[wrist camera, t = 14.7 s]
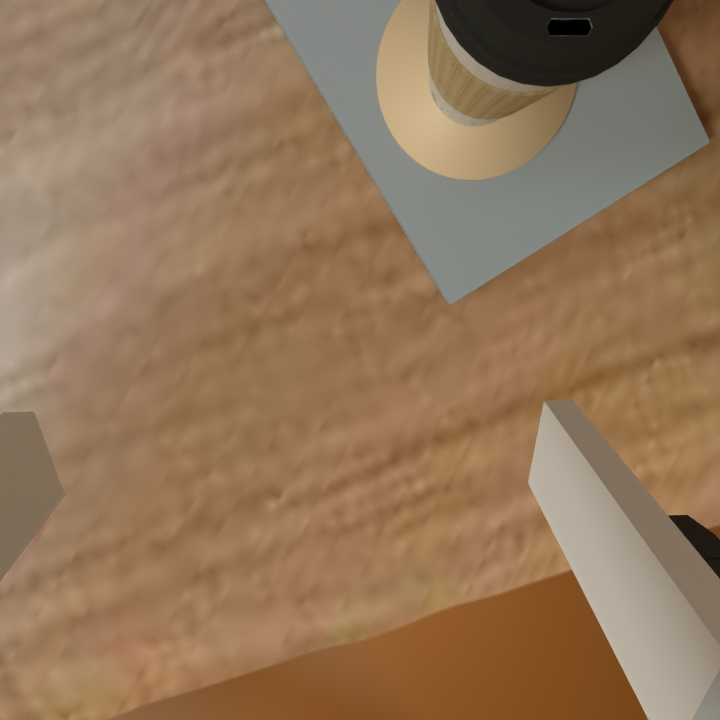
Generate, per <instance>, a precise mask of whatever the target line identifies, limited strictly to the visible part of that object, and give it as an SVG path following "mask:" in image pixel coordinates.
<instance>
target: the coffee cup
mask: <svg viewBox="0 0 720 720" xmlns="http://www.w3.org/2000/svg"><path fill="white" fill-rule="evenodd" d="M672 2H673V0H430V8H429V30H428V65H429V86H430V91H431V95H432V97H433V99H434V102H435V104H436V105H437V107H438V108H439V109H440V111H441V112H442V113H443V114H444V115H445V116H446V117H447V118H449V119H450V120H452V121H454V122H455V123H458V124H461V125H463V126H470V127H478V126H485V125H488V124H491V123H493V122H495V121H497V120H499V119H500V118H503V117H506V116H509V115H512V114H514V113H516V112H518V111H519V110H521V109H523V108H525V107H527V106H529V105H530V104H532V103H534V102H536V101H538V100H540V99H542V98H543V97H545V96H547V95H549V94H551V93H553V92H555V91H556V90H558V89H560V88H562V87H564V86H566V85H570V84H573V83H577V82H580V81H583V80H586V79H589V78H593V77H595V76H597V75H599V74H601V73H602V72H604V71H606V70H608V69H610V68H612V67H613V66H615V65H617V64H618V63H620V62H621V61H622V60H623V59H624V58H626V57H627V56H628V55H629V54H631V53H632V52H633V51H634V50H635V49H637V48H638V47H639V46H640V45H641V43H642V42H643V41H644V40H645V39H646V38H647V36H648V35H649V34H650V33H651V32H652V31H653V29H654V28H655V27H656V26H657V25H658V23H659V22H660V21H661V19H662V18H663V17H664V15H665V13H666V12H667V10H668V8H669V7H670V5H671V3H672Z"/></svg>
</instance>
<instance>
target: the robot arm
mask: <svg viewBox="0 0 720 720" xmlns="http://www.w3.org/2000/svg"><path fill="white" fill-rule="evenodd" d="M528 484H529V486H530V488H531V490H532V492H533V494H534V496H535V498H536V500H537V502H538V504H539V506H540V508H541V510H542V511H543V513H544V515H545V517H546V519H547V521H548V523H549V525H550V527H551V529H552V531H553V533H554V535H555V537H556V539H557V541H558V543H559V545H560V547H561V549H562V551H563V553H564V555H565V557H566V559H567V561H568V562H569V564H570V566H571V568H572V570H573V572H574V574H575V576H576V578H577V580H578V582H579V584H580V586H581V588H582V590H583V592H584V594H585V596H586V598H587V600H588V602H589V603H590V605H591V607H592V609H593V611H594V613H595V615H596V617H597V619H598V621H599V623H600V625H601V627H602V629H603V631H604V633H605V635H606V637H607V639H608V641H609V643H610V645H611V647H612V649H613V651H614V653H615V655H616V656H617V659H618V661H619V663H620V665H621V666H622V668H623V670H624V672H625V674H626V676H627V678H628V680H629V682H630V684H631V686H632V688H633V690H634V692H635V694H636V696H637V698H638V700H639V702H640V704H641V706H642V708H643V710H644V712H645V714H646V716H647V717H648V719H649V720H720V540H719V539H718V538H717V536H716V535H715V534H713V533H712V532H711V531H709V530H708V529H706V528H705V527H704V526H702V525H701V524H699V523H698V522H696V521H695V520H694V519H692V518H691V517H689V516H688V515H672V516H668V515H667V514H666V513H665V512H664V510H663V509H662V508H661V507H660V506H659V504H658V503H657V502H656V501H655V499H654V498H653V497H652V496H651V495H650V493H649V492H648V491H647V490H646V489H645V487H644V486H643V485H642V484H641V482H640V481H639V480H638V479H637V478H636V476H635V475H634V474H633V473H632V471H631V470H630V469H629V468H628V467H627V465H626V464H625V463H624V462H623V461H622V459H621V458H620V457H619V456H618V454H617V453H616V452H615V451H614V450H613V448H612V447H611V446H610V445H609V444H608V442H607V441H606V440H605V439H604V437H603V436H602V435H601V434H600V433H599V431H598V430H597V429H596V428H595V427H594V425H593V424H592V423H591V422H590V420H589V419H588V418H587V417H586V416H585V414H584V413H583V412H582V411H581V409H580V408H579V407H578V406H577V405H576V403H575V402H574V401H573V400H569V401H544V404H543V409H542V414H541V419H540V424H539V430H538V435H537V440H536V445H535V450H534V455H533V460H532V465H531V470H530V475H529V481H528ZM64 495H65V494H64V491H63V488H62V486H61V483H60V480H59V478H58V475H57V472H56V470H55V467H54V464H53V462H52V459H51V456H50V453H49V451H48V448H47V445H46V443H45V440H44V437H43V435H42V432H41V429H40V427H39V424H38V421H37V418H36V416H35V413H34V412H4V413H2V414H1V415H0V581H1V579H2V578H3V577H4V575H5V574H6V573H7V571H8V570H9V569H10V567H11V566H12V565H13V563H14V562H15V561H16V559H17V558H18V557H19V555H20V554H21V553H22V551H23V550H24V549H25V547H26V546H27V545H28V543H29V542H30V541H31V539H32V538H33V537H34V535H35V534H36V533H37V531H38V530H39V529H40V527H41V526H42V525H43V523H44V522H45V521H46V519H47V518H48V517H49V515H50V514H51V513H52V511H53V510H54V509H55V507H56V506H57V505H58V503H59V502H60V501H61V499H62V498H63V497H64Z"/></svg>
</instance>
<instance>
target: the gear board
mask: <svg viewBox="0 0 720 720" xmlns="http://www.w3.org/2000/svg"><path fill="white" fill-rule="evenodd" d="M264 1H265V3H266V4H267V6H268V8H269V9H270V11H271V13H272V14H273V16H274V18H275V19H276V21H277V23H278V24H279V26H280V28H281V29H282V31H283V32H284V34H285V36H286V37H287V39H288V41H289V42H290V44H291V46H292V47H293V49H294V51H295V52H296V54H297V56H298V57H299V59H300V61H301V62H302V64H303V66H304V67H305V69H306V70H307V72H308V74H309V75H310V77H311V79H312V80H313V82H314V84H315V85H316V87H317V89H318V90H319V92H320V94H321V95H322V97H323V99H324V100H325V102H326V104H327V105H328V107H329V108H330V110H331V112H332V113H333V115H334V117H335V118H336V120H337V122H338V123H339V125H340V127H341V128H342V130H343V132H344V133H345V135H346V137H347V138H348V140H349V142H350V143H351V145H352V147H353V148H354V150H355V151H356V153H357V155H358V156H359V158H360V160H361V161H362V163H363V165H364V166H365V168H366V170H367V171H368V173H369V175H370V176H371V178H372V180H373V181H374V183H375V185H376V186H377V188H378V189H379V191H380V193H381V194H382V196H383V198H384V199H385V201H386V203H387V204H388V206H389V208H390V209H391V211H392V213H393V214H394V216H395V218H396V219H397V221H398V223H399V224H400V226H401V227H402V229H403V231H404V232H405V234H406V236H407V237H408V239H409V241H410V242H411V244H412V246H413V247H414V249H415V251H416V252H417V254H418V256H419V257H420V259H421V261H422V262H423V264H424V265H425V267H426V269H427V270H428V272H429V274H430V275H431V277H432V279H433V280H434V282H435V284H436V285H437V287H438V289H439V290H440V292H441V294H442V295H443V297H444V299H445V300H446V302H447V303H448V304H449V305H451V304H453V303H454V302H456V301H457V300H459V299H461V298H462V297H464V296H465V295H467V294H469V293H470V292H472V291H473V290H475V289H477V288H478V287H480V286H481V285H483V284H485V283H486V282H488V281H489V280H491V279H493V278H494V277H496V276H497V275H499V274H501V273H502V272H504V271H505V270H507V269H509V268H510V267H512V266H513V265H515V264H517V263H518V262H520V261H521V260H523V259H525V258H526V257H528V256H529V255H531V254H533V253H534V252H536V251H537V250H539V249H541V248H542V247H544V246H545V245H547V244H549V243H550V242H552V241H553V240H555V239H557V238H558V237H560V236H561V235H563V234H565V233H566V232H568V231H569V230H571V229H572V228H574V227H576V226H577V225H579V224H580V223H582V222H584V221H585V220H587V219H588V218H590V217H592V216H593V215H595V214H596V213H598V212H600V211H601V210H603V209H604V208H606V207H608V206H609V205H611V204H612V203H614V202H616V201H617V200H619V199H620V198H622V197H624V196H625V195H627V194H628V193H630V192H632V191H633V190H635V189H636V188H638V187H640V186H641V185H643V184H644V183H646V182H648V181H649V180H651V179H652V178H654V177H656V176H657V175H659V174H660V173H662V172H664V171H665V170H667V169H668V168H670V167H672V166H673V165H675V164H676V163H678V162H680V161H681V160H683V159H684V158H686V157H688V156H689V155H691V154H692V153H694V152H696V151H697V150H699V149H700V148H702V147H704V146H705V145H707V144H708V143H710V141H709V139H708V136H707V134H706V132H705V130H704V128H703V126H702V124H701V121H700V119H699V117H698V115H697V113H696V111H695V108H694V106H693V104H692V102H691V100H690V98H689V96H688V93H687V91H686V89H685V87H684V85H683V83H682V80H681V78H680V76H679V74H678V72H677V70H676V67H675V65H674V63H673V61H672V59H671V57H670V55H669V52H668V50H667V48H666V46H665V44H664V42H663V39H662V37H661V35H660V33H659V31H658V29H657V26H656V27H655V28H654V29H653V31H652V32H651V33H650V34H649V35H648V36H647V38H646V39H645V40H644V41H643V42H642V43H641V45H640V46H639V47H638V48H637V49H635V50H634V51H633V52H632V53H631V54H629V55H628V56H627V57H626V58H624V59H623V60H622V61H621V62H620V63H618V64H617V65H615V66H613V67H612V68H610V69H608V70H606V71H604V72H602V73H601V74H599V75H597V76H595V77H593V78H589V79H586V80H583V81H580V82H577V83H573V84H570V85H566V86H564V87H562V88H560V89H558V90H556V91H555V92H553V93H551V94H549V95H547V96H545V97H543V98H542V99H540V100H538V101H536V102H534V103H532V104H530V105H529V106H527V107H525V108H523V109H521V110H519V111H518V112H516V113H514V114H512V115H509V116H506V117H503V118H500V119H499V120H497V121H495V122H493V123H491V124H488V125H485V126H478V127H470V126H463V125H461V124H458V123H455V122H454V121H452V120H450V119H449V118H447V117H446V116H445V115H444V114H443V113H442V112H441V111H440V109H439V108H438V107H437V105H436V104H435V102H434V99H433V97H432V95H431V91H430V86H429V65H428V30H429V8H430V0H264Z"/></svg>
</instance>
